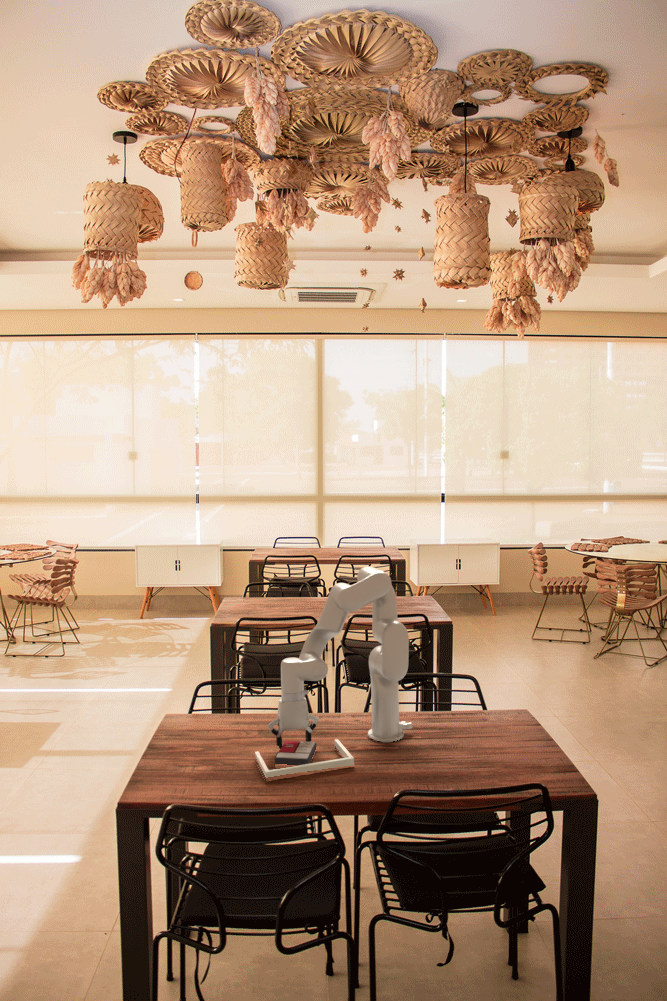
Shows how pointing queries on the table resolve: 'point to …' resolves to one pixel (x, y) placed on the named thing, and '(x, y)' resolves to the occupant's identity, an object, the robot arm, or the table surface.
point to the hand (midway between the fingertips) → (294, 745)
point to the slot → (342, 762)
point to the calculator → (296, 753)
